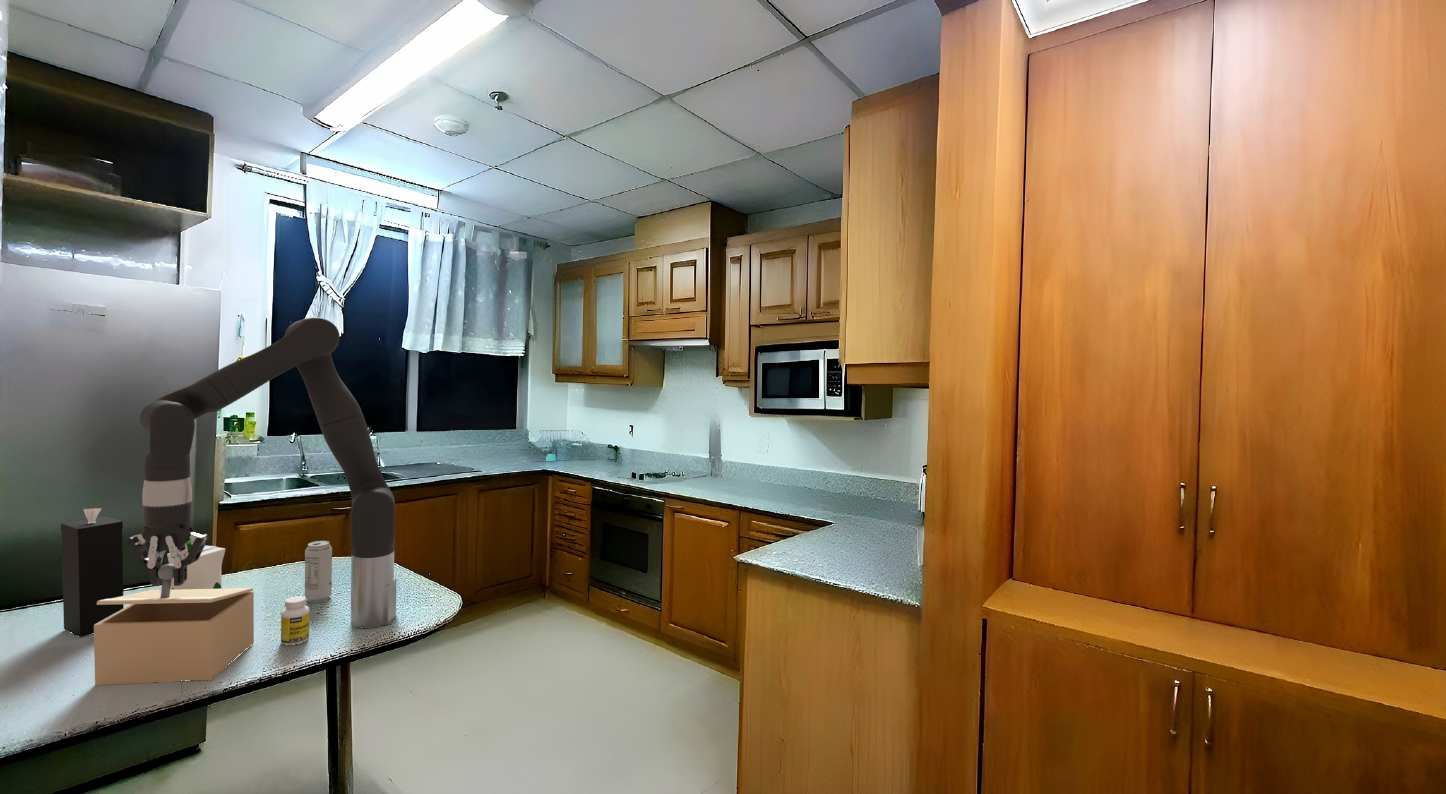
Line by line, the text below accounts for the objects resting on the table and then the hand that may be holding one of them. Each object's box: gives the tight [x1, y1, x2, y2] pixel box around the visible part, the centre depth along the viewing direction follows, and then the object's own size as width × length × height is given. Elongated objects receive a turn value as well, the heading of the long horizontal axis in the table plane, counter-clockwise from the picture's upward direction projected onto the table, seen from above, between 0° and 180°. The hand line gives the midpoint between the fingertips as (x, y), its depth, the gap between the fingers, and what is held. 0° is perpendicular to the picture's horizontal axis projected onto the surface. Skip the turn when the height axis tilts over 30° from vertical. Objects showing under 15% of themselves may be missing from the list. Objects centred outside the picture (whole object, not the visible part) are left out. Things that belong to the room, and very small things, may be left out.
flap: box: [97, 563, 254, 605], centre depth 135 cm, size 20×16×7 cm
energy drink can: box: [304, 540, 333, 604], centre depth 171 cm, size 6×6×15 cm
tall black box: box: [60, 507, 125, 638], centre depth 148 cm, size 8×8×28 cm
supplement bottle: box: [280, 595, 311, 646], centre depth 147 cm, size 5×5×10 cm
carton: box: [93, 591, 255, 686], centre depth 135 cm, size 20×16×12 cm
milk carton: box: [167, 539, 227, 590], centre depth 152 cm, size 9×9×20 cm
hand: (168, 584), depth 131 cm, fingers closed on flap, 3 cm apart
